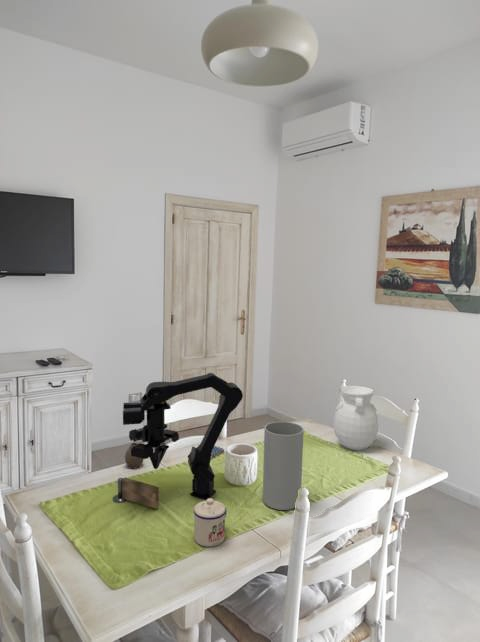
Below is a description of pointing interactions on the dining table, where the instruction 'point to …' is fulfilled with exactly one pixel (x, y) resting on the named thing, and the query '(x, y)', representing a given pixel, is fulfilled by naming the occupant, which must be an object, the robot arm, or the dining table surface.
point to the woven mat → (216, 451)
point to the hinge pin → (119, 493)
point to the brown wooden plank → (140, 492)
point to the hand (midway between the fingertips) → (155, 468)
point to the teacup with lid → (209, 523)
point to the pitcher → (356, 418)
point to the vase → (132, 458)
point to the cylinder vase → (282, 464)
